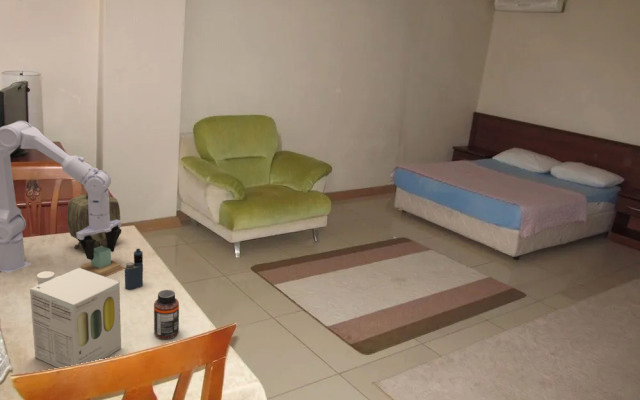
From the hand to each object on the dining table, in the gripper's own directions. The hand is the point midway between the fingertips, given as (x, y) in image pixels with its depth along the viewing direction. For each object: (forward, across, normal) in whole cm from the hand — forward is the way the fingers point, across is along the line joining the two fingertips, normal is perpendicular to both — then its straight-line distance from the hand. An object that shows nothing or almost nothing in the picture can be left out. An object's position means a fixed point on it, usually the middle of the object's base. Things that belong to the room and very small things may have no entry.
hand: (100, 254), depth 159 cm
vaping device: (+6, -2, -16) cm, 17 cm away
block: (+3, 0, 0) cm, 3 cm away
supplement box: (+6, -32, -30) cm, 44 cm away
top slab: (+5, 0, 0) cm, 5 cm away
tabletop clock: (+6, +11, +15) cm, 19 cm away
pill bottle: (+6, -23, -7) cm, 25 cm away
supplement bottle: (+6, -14, -40) cm, 43 cm away
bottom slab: (+6, 0, 0) cm, 6 cm away
